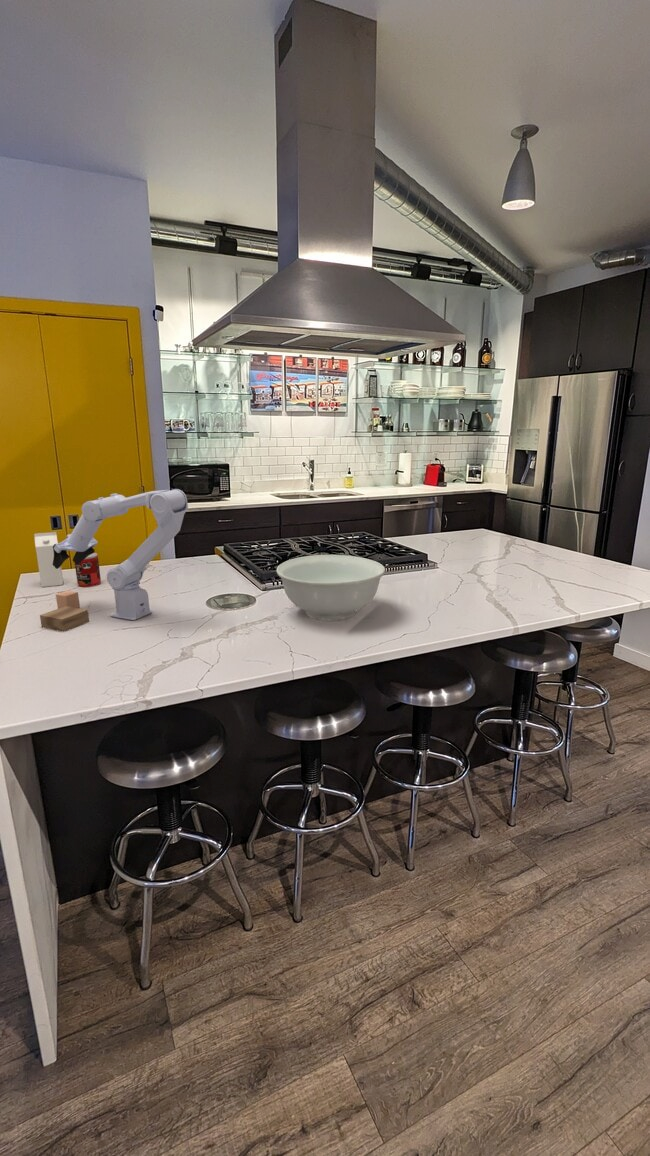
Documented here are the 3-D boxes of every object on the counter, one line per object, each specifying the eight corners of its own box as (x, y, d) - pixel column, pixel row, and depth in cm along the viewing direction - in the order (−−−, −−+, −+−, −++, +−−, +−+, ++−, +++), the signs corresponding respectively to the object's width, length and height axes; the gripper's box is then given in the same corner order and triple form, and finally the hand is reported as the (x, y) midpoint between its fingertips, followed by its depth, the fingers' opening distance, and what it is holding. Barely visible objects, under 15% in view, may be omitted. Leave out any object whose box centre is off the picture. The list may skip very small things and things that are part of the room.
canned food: (73, 585, 200) (69, 556, 197) (91, 580, 206) (87, 551, 203) (87, 588, 196) (83, 558, 193) (105, 582, 203) (102, 553, 200)
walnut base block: (89, 622, 163) (87, 609, 162) (64, 632, 155) (62, 619, 154) (67, 618, 167) (65, 606, 165) (41, 628, 159) (39, 615, 158)
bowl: (377, 635, 150) (378, 584, 146) (264, 627, 157) (262, 578, 153) (388, 599, 181) (389, 556, 177) (293, 594, 187) (292, 552, 183)
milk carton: (42, 582, 204) (34, 532, 199) (63, 580, 207) (56, 530, 202) (41, 587, 198) (33, 535, 192) (63, 585, 200) (56, 533, 195)
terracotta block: (80, 608, 175) (77, 592, 173) (68, 613, 171) (66, 596, 169) (69, 606, 176) (67, 590, 175) (58, 611, 172) (55, 594, 171)
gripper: (94, 521, 173) (76, 552, 179) (55, 525, 160) (37, 559, 165) (108, 536, 172) (89, 567, 177) (70, 542, 159) (52, 575, 164)
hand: (65, 564), depth 171 cm, fingers open, 7 cm apart
